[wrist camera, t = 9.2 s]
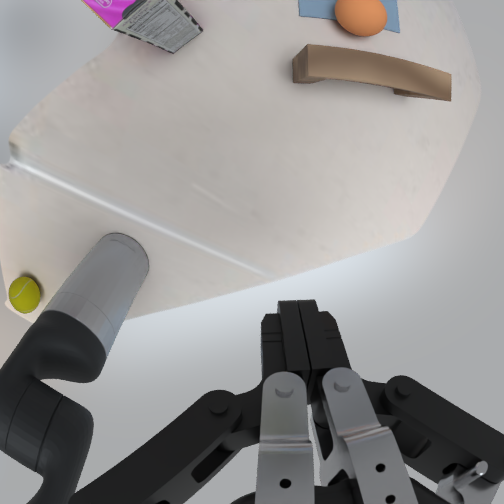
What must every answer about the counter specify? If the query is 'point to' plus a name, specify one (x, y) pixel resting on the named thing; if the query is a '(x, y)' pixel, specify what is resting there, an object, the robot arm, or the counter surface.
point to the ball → (361, 16)
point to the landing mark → (323, 6)
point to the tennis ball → (24, 294)
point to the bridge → (370, 71)
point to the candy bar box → (148, 21)
